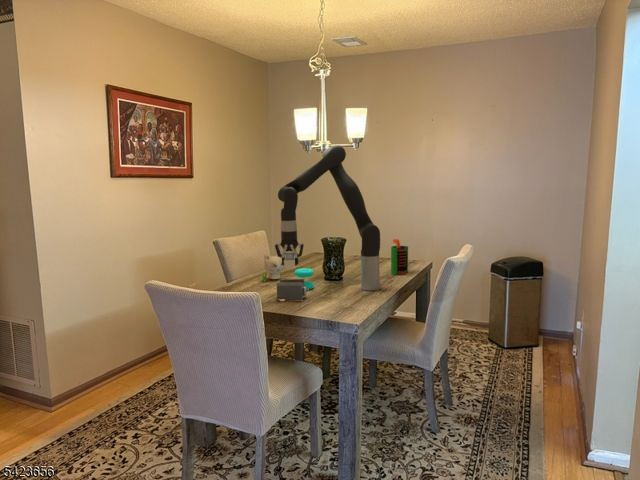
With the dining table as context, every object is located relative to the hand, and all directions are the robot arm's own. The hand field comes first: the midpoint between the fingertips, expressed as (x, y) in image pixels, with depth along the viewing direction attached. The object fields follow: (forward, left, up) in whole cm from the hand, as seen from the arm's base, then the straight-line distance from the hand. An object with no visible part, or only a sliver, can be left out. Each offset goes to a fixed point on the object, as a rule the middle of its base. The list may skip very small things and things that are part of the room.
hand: (290, 265), depth 220 cm
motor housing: (0, 0, -16) cm, 16 cm away
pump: (0, 0, -1) cm, 1 cm away
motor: (-55, -53, -16) cm, 78 cm away
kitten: (+16, -39, -16) cm, 45 cm away
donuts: (-4, -19, -16) cm, 25 cm away
